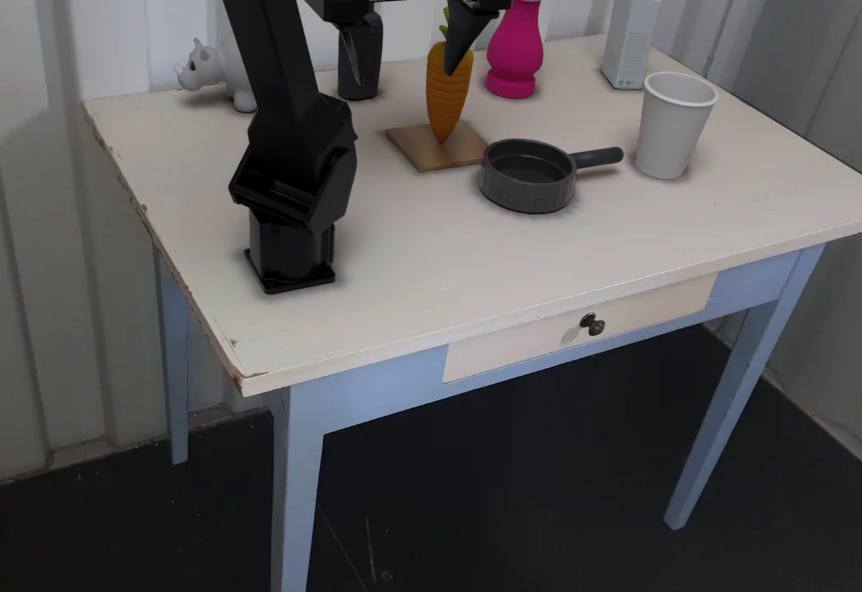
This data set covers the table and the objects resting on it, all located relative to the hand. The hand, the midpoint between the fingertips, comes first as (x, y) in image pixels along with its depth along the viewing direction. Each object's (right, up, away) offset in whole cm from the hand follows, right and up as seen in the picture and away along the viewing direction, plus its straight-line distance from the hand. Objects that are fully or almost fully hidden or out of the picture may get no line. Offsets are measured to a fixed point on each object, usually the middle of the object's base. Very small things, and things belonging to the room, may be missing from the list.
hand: (404, 78), depth 88 cm
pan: (+12, -9, +11) cm, 19 cm away
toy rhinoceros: (-21, +2, +18) cm, 28 cm away
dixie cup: (+28, -5, +19) cm, 34 cm away
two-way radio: (-7, +4, +23) cm, 25 cm away
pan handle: (+20, -6, +14) cm, 25 cm away
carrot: (+3, -3, +16) cm, 16 cm away
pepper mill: (+11, +7, +31) cm, 34 cm away
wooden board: (+3, -3, +16) cm, 17 cm away
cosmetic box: (+26, +10, +38) cm, 47 cm away
